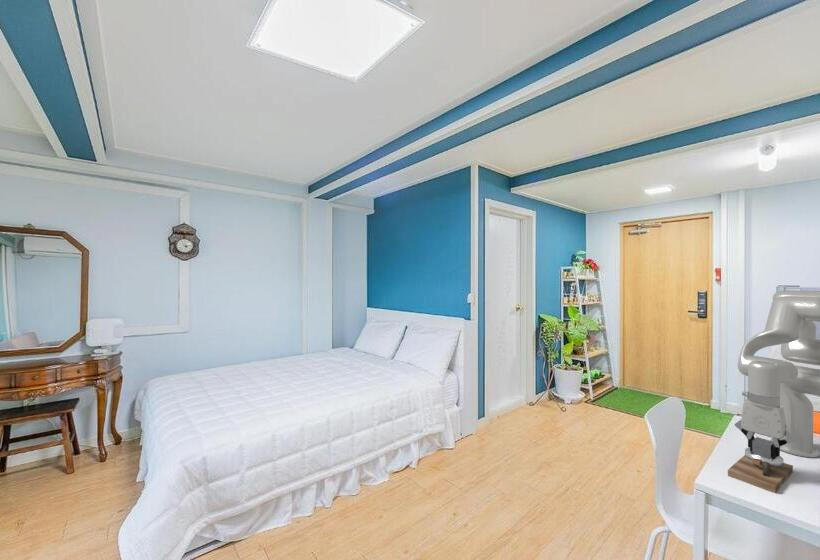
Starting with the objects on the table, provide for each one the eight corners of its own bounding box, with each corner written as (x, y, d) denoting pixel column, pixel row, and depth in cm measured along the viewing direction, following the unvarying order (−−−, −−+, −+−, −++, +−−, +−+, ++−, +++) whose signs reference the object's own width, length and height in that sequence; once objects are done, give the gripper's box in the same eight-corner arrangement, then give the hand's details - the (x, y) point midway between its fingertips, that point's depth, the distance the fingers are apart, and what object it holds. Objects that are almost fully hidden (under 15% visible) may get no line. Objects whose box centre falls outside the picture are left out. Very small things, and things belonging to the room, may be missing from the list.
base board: (748, 457, 126) (748, 440, 126) (792, 471, 116) (793, 453, 116) (727, 475, 115) (727, 457, 114) (775, 493, 105) (775, 473, 105)
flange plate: (750, 449, 122) (750, 432, 122) (787, 461, 114) (787, 443, 114) (738, 458, 116) (738, 440, 116) (776, 471, 108) (776, 452, 108)
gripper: (726, 394, 120) (726, 446, 121) (798, 409, 106) (798, 469, 106) (733, 390, 124) (733, 440, 125) (804, 404, 110) (804, 462, 110)
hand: (763, 453), depth 115 cm, fingers closed on flange plate, 4 cm apart
